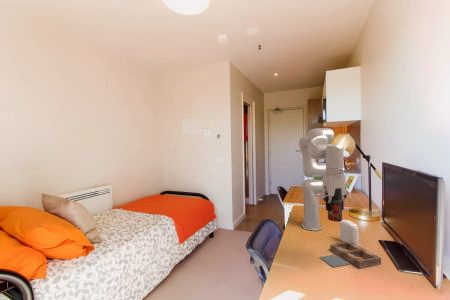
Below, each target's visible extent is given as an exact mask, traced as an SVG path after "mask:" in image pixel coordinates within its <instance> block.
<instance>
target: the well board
mask: <svg viewBox="0 0 450 300" xmlns="http://www.w3.org/2000/svg"><path fill="white" fill-rule="evenodd" d="M329 248H330V249H329V250H330V251H331V252H333V253H334V254H335V255H337V256H338V257H340V258H342V259H343V260H345V261H346V262H348V263H349V264H352V265H353V266H355V267H356V268H358V269H365V268H369V267H370V268H371V267H374V266H381V265H382V257H381V256H379V255H376V254H374V253H373V252H370V251H369V250H367V249H365V248H363V247H361V246H360V245H359V246H357V245H355V244H354V243H352V242H350V241H348V242H343V241H342V242H337V243H330V245H329ZM347 249H348V250H347ZM359 257H360V258H359ZM361 257H362V258H364V259H361Z"/></svg>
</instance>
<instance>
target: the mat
mask: <svg viewBox="0 0 450 300" xmlns="http://www.w3.org/2000/svg"><path fill="white" fill-rule="evenodd" d="M319 259H320V260H321V261H323V262H325V263H326V264H327V265H329V266H330V267H332V268H333V269H334V268H339V267H344V266H349V265H350V264H351V263H350V262H348V261H347V260H345V259H344V258H342V257H341V256H339V255H337V254H336V253H334V254H330V255H323V256H320V257H319Z"/></svg>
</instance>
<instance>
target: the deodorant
mask: <svg viewBox="0 0 450 300" xmlns="http://www.w3.org/2000/svg"><path fill="white" fill-rule="evenodd" d="M328 198H329V197H328ZM330 203H332V211H331V212H330V211H327V220H329V221H331V222H337V223H338V222H339V223H341V221H342V220H343V210H342V189H341V188H338V189H335V194H334V196H333V197H332V199H331V202H330Z"/></svg>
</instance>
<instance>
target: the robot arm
mask: <svg viewBox="0 0 450 300" xmlns="http://www.w3.org/2000/svg"><path fill="white" fill-rule="evenodd" d="M334 139H335V132H334V131H333V129H331V128H330V127H325V128H324V127H322V128H320V127H317V128H311V129H310V130H309V131H308V132H307V136H302V137H300V138H299V140H298V146H299V150H300V153H301V157H302V166H303V168H302V169H303V174H304V177H306V178H313V179H304V180H303V181H302V183H301V187H302V188H301V189H302V190H301V191H302V194H303V195H302V197H303V218H301V221H302V222H303V223H301V228H302V227H303V229H305V230H306V231H311V230H312V232H313V231H314V232H317V231H322V229H323V226H322V225H321V224H320V200H319V199H318V197H316V195H319V196H320V198H322V200H323V201H324V202H325V210H326V211H327V212H328V211H330V212H331V211H332V203H330V202H331V199H332V197H333V196H334V194H335V189H338V188H341V189H342V211H345V210H344V208H345V207H344V205H345V203H344V202H345V201H346V199H347V197H348V196H349V192H350V191H348V190H347V182H346V176H345V174H344V172H345V168H344V166H345V165H344V157H345V155H344V154H345V153H344V151H345V150H344V146H342V145H341V144H333V143H332V142H333V141H334ZM317 160H318V161H319V160H322V161H323V160H325V162H318V161H317ZM314 178H317V179H314ZM319 178H321V179H319ZM328 197H329V198H328Z"/></svg>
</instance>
